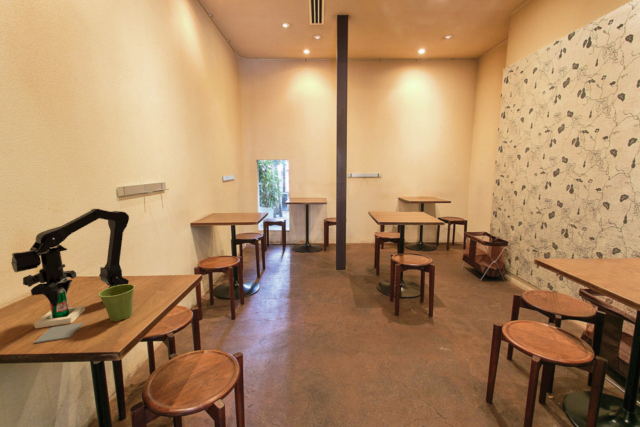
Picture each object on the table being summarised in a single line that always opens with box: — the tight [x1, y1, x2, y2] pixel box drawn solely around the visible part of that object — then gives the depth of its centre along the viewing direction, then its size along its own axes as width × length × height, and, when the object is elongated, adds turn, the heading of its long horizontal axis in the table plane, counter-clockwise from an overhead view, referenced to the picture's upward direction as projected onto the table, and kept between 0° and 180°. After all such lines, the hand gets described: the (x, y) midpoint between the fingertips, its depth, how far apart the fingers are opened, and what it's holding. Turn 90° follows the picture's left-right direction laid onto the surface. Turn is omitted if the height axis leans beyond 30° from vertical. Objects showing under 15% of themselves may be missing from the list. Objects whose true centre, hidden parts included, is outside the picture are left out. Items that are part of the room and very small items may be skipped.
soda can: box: [49, 288, 70, 319], centre depth 116 cm, size 5×5×12 cm
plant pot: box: [97, 283, 136, 322], centre depth 115 cm, size 12×12×11 cm
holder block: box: [34, 305, 86, 329], centre depth 117 cm, size 11×11×2 cm
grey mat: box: [33, 322, 84, 344], centre depth 106 cm, size 10×10×1 cm
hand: (58, 303), depth 116 cm, fingers closed on soda can, 5 cm apart
